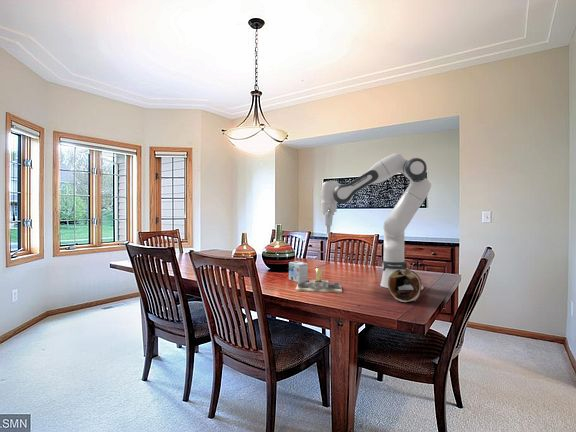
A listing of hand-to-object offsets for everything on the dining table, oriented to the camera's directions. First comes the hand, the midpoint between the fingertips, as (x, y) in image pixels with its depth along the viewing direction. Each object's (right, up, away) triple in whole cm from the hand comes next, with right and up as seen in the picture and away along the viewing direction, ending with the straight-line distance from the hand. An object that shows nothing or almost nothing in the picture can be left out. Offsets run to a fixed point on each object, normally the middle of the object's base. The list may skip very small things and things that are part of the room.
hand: (328, 233), depth 195 cm
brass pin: (-7, -28, -13) cm, 32 cm away
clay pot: (+35, -30, -27) cm, 53 cm away
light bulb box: (-17, -29, +9) cm, 35 cm away
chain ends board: (-7, -29, -13) cm, 33 cm away
